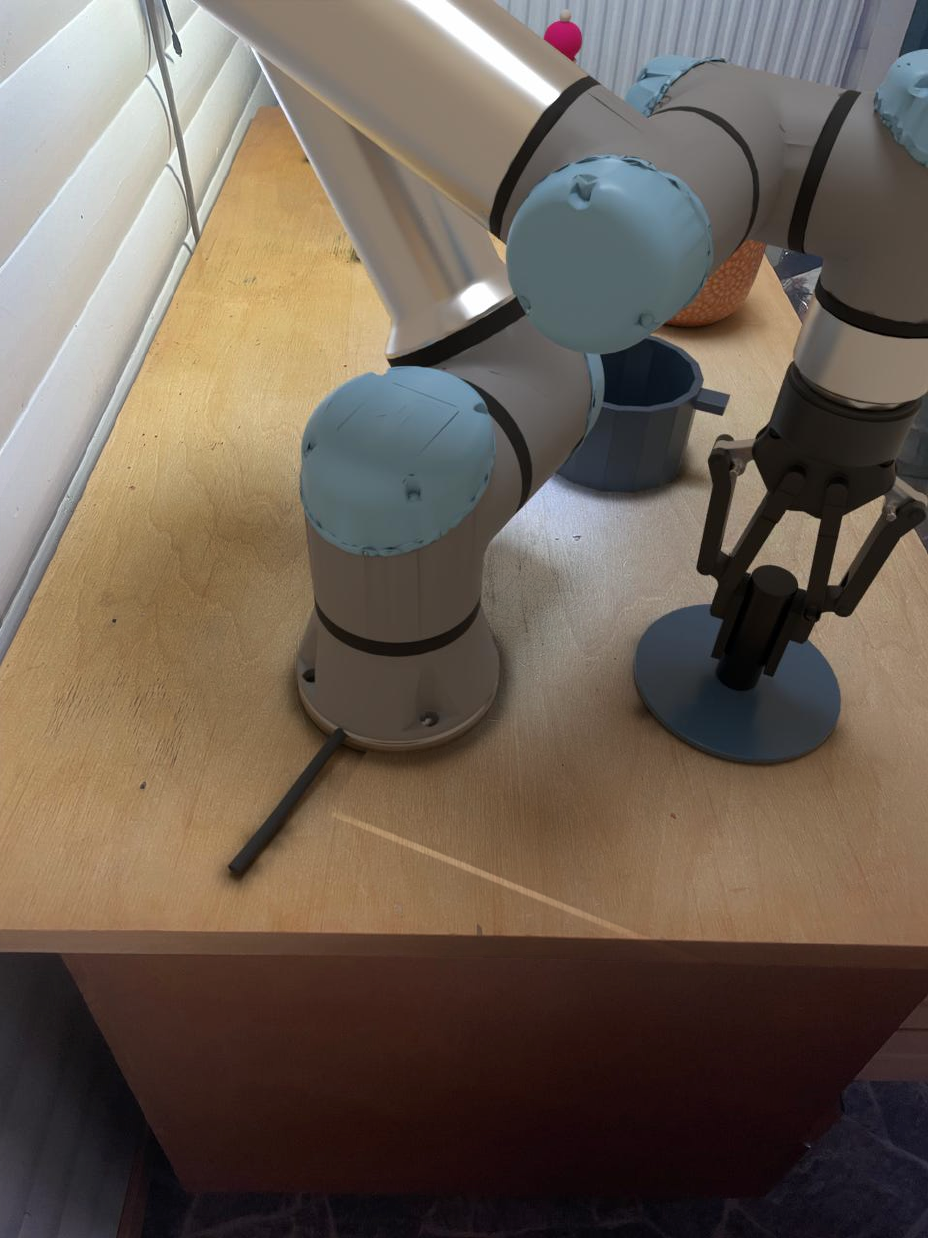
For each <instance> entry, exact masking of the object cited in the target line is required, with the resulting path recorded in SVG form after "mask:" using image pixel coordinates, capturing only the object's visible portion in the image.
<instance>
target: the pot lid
mask: <svg viewBox="0 0 928 1238" xmlns="http://www.w3.org/2000/svg"><path fill="white" fill-rule="evenodd" d="M798 588H799V581H798V579H797V577H796V576H795V575H794V574H793V573H792V572H791V571H789V570H788V569H787V568H783V567H782V566H778V565H776V564H775V565H774V564H763V565H759V566H757V567H756V568H754V569H753V570H752V572H751V576H750V579H749V582H748V585H747V589H746V593H745V596H744V599H743V602H742V604H741V607H740V610H739V612H738V615H737V618H736V620H735V623H734V626H733V628H732V631H731V634H730V636H729V639H728V641H727V644H726V647H725V649H724V652H723V655H722V657H721V660H718V659H715V658H712V657H711V654H712V651H713V647H714V644H715V641H716V638H717V635H718V632H719V629H720V626H721V624H722V621H723V620H722V619H719V618H716V617H713V616H711V615H710V607H711V604H712V603H703V604H693V605H689V606H684V607H681V608H678V609H675V610H672V611H669V612H668V613H665V614H663V615H662V616H661V617H659V618H658V619H656V620H655V621H654V622H652V624H650V625H649V627H647V629H646V630H645V632H644V633H643V634H642V635H641V637H640V640H639V641H638V642H637V647H636V649H635V653H634V657H633V676H634V680H635V681H634V682H635V684H636V687H637V690H638V693H639V695H640V697H641V700H642V701H643V702H644V704H645V706H646V707H647V709H648V710H649V711H650V713H651V714H652V716H653V717H654V718H656V720H658V722H660V724H661V725H662V726H663V727H665V728H666V729H667V730H668V731H669V732H670V733H671V734H672V735H674V736H676V737H677V738H679V739H680V740H681V741H683V742H684V743H686V744H688V745H690V746H692V747H694V748H696V749H698V750H700V751H702V752H704V753H707V754H709V755H712V756H715V757H718V758H721V759H724V760H728V761H733V762H739V763H744V764H757V765H758V764H759V765H760V764H761V765H763V764H775V763H776V764H777V763H784V762H788V761H791V760H796V759H798V758H801V757H802V756H806V755H807V754H809V753H811V752H812V751H813V750H814V751H815V749H817V748H818V747H819V746H820V745H822V744H823V743H824V742H825V741H826V740H827V739H828V737H829V736H830V735H831V733H833V730H834V728H835V726H836V725H837V722H838V720H839V718H840V717H839V716H840V712H841V708H842V707H841V706H842V697H841V689H840V685H839V682H838V679H837V678H838V677H837V676H836V674H835V672H834V669H833V668H832V665H831V664H830V663H829V662H828V660H827V658H826V657H825V656H824V654H823V653H822V652H821V650H820V649H818V648H817V646H815V644H813V643H812V641H810V640H809V639H808V640H807V641H806V642H804V643H803V644H800V643H796V642H793V641H790V640H789V643H788V645H787V647H786V649H785V652H784V654H783V656H782V658H781V661H780V663H779V665H778V667H777V670H776V672H775V674H774V676H773V677H770V676H767V675H764V674H763V671H764V667H765V664H766V662H767V659H768V657H769V655H770V652H771V650H772V648H773V645H774V643H775V641H776V638H777V636H778V634H779V631H780V629H781V627H782V624H783V622H784V620H785V617H786V615H787V613H788V610H789V608H790V606H791V603H792V601H793V599H794V597H795V594H796V592H797V590H798Z"/></svg>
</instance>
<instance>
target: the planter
mask: <svg viewBox="0 0 928 1238" xmlns="http://www.w3.org/2000/svg"><path fill="white" fill-rule="evenodd" d="M767 246H768V244H765V243H761V242H757V241H754V240H750V239H748V240H747V241H746V242H745V243H744V244H743V245H742V246H741V247H740V248H739V249H738V250H737V251H736V252H735V253H734V254H733V255H732V256H731V257H730V258H729V259H728V260H727V261H725V262H724V264H723V265H722V266H721V267H720V268H719V269H718V270H717V271H716V272H715V273H714V274H713V275H712V276H711V277H710V278H709V279H708V280H707V281H706V282H705V285H704V287H703V289H702V290H701V292H700V293H699V294H698V296H697V297H696V298H695V300H694V301H693V302H692V303H691V304H690V305H689V306H688V307H686V308H683V309H682V310H681V311H680V312H679V313H678V314H677V315H675V316H674V317H673V318H672V319H671V320H669V321H667V322H665V323H664V325H665V324H666V325H670V326H675V327H685V328H693V327H694V328H695V327H702V326H707V325H710V324H714V323H716V322H719V321H721V320H723V319H725V318H727V317H728V316H730V315H732V314H733V313H735V312H736V311H737V310H738V309H739V308H740V307H741V306H742V305H743V303H744V302H745V301H746V299H747V298H748V296H749V294H750V292H751V290H752V287H753V285H754V283H755V281H756V279H757V276H758V273H759V271H760V268H761V264H762V261H763V258H764V255H765V253H766V249H767Z"/></svg>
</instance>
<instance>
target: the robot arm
mask: <svg viewBox="0 0 928 1238" xmlns="http://www.w3.org/2000/svg"><path fill="white" fill-rule="evenodd" d="M190 1H191V2H192V3H194V4H195V5H196V6H198V7H199V8H200V9H201V10H202V11H204V12H205V13H207V14H208V15H209V16H211V18H213V19H214V20H215V21H216V22H218V23H220V25H222V26H224V27H225V28H226V29H227V30H229V32H231V33H232V34H233V35H235V36H236V37H237V38H239V39H240V40H241V41H243V42H244V43H245V44H246V45H248V46H249V47H250V49H251V51H252V53H253V54H254V55H253V56H254V57H255V59H256V61H257V63H258V65H259V67H260V68H261V71H262V72H263V74H264V77H265V78H266V80H267V82H268V84H269V86H270V88H271V90H272V92H273V93H274V96H275V97H276V100H277V102H278V103H279V105H280V107H281V109H282V111H283V113H284V115H285V117H286V119H287V121H288V123H289V124H290V127H291V129H292V130H293V133H294V135H295V136H296V138H297V140H298V143H299V144H300V146H301V148H302V151H303V152H304V155H305V156H306V159H307V158H308V159H307V160H308V162H309V164H310V166H311V168H312V169H313V172H314V174H315V175H316V177H317V179H318V181H319V183H320V185H321V187H322V189H323V191H324V193H325V194H326V197H327V199H328V201H329V203H330V204H331V207H332V208H333V210H334V212H335V214H336V216H337V218H338V220H339V222H340V224H341V226H342V228H343V230H344V232H345V234H346V236H347V238H348V240H349V241H350V244H351V246H352V247H353V249H354V251H355V253H356V256H357V255H358V257H359V258H358V257H357V258H358V259H359V261H360V263H361V265H362V267H363V269H364V271H365V272H366V275H367V276H368V278H369V281H370V282H371V285H372V286H373V288H374V290H375V292H376V294H377V296H378V298H379V300H380V302H381V304H382V306H383V308H384V310H385V312H386V314H387V315H388V317H389V319H390V321H389V323H390V327H389V330H388V335H387V338H386V342H385V345H384V350H383V355H384V356H385V359H386V360H387V362H388V365H389V366H390V367H388V368H387V369H386V371H385V373H384V374H376V373H375V372H373V371H370V372H365V373H363V374H360V375H357V376H355V377H353V378H351V379H349V380H347V381H345V382H343V383H342V384H340V385H338V386H337V387H336V388H334V389H333V390H332V391H330V392H329V393H328V394H327V395H326V396H325V397H324V398H323V399H322V400H321V401H320V402H319V403H318V405H317V406H316V407H315V408H314V410H313V411H312V413H311V415H310V417H309V418H308V420H307V422H306V425H305V427H304V431H303V434H302V438H301V444H300V449H301V450H300V458H301V459H300V461H301V462H300V464H301V465H300V472H299V481H298V482H299V495H300V502H301V505H302V507H303V515H304V522H305V523H304V524H305V531H306V541H307V548H308V557H309V566H310V574H311V583H312V590H313V591H312V592H313V600H314V605H313V607H312V611H311V614H310V617H309V619H308V622H307V625H306V629H305V631H304V633H303V636H302V639H301V641H300V645H299V648H298V652H297V656H296V663H295V665H296V678H297V679H296V680H297V686H298V692H299V697H300V700H301V703H302V706H303V707H304V710H305V712H306V713H307V715H308V716H309V717H310V719H311V720H312V722H313V723H314V724H315V725H316V726H317V727H318V728H319V729H320V730H321V731H323V733H325V734H326V735H327V736H329V737H328V738H327V740H326V741H325V743H324V744H323V745H322V746H321V747H320V749H319V750H318V751H317V753H316V754H315V755H314V756H313V758H312V759H311V761H310V762H309V763H308V764H307V766H306V767H305V768H304V770H303V771H302V773H300V775H298V777H297V778H296V780H295V782H294V783H293V784H292V786H291V787H290V788H289V790H288V791H287V792H286V794H285V795H284V796H283V797H282V799H281V800H280V802H279V803H278V804H277V805H276V807H275V808H274V809H273V811H272V812H271V813H270V814H269V816H268V817H267V819H266V820H265V821H264V822H263V823H262V825H261V826H260V827H259V828H258V829H257V831H256V832H255V833H254V834H253V835H252V836H251V838H250V839H249V840H248V841H247V842H246V843H245V845H244V846H243V847H242V848H241V849H240V851H239V852H238V853H237V854H236V855H235V857H234V858H233V859H232V860H231V861H230V862H229V864H228V865H227V868H228V869H229V871H230V872H231V873H232V874H233V875H237V876H240V875H241V873H242V872H243V871H244V870H245V869H246V868H247V866H248V865H249V864H250V863H251V861H252V860H253V859H254V858H255V857H256V855H257V854H258V853H259V852H260V851H261V849H262V848H264V846H265V845H266V843H267V842H268V841H269V840H270V838H271V837H272V836H273V834H275V832H276V831H277V830H278V829H279V828H280V826H281V825H282V824H283V822H284V821H285V819H286V818H288V817H287V816H288V815H289V814H290V813H291V812H292V810H293V809H294V807H295V806H296V805H297V803H298V802H299V801H300V799H301V798H302V796H303V795H304V794H305V792H306V791H307V790H308V788H309V787H310V786H311V784H312V783H313V782H314V780H315V779H316V777H317V776H318V775H319V774H320V772H321V771H322V770H323V769H324V767H326V765H327V763H328V762H329V760H330V759H331V758H332V757H333V756H334V755H335V753H336V752H337V750H338V748H340V746H341V745H344V746H347V747H349V748H351V749H355V750H357V751H359V752H364V753H367V752H368V751H370V752H375V753H380V754H381V753H382V754H411V753H413V754H414V753H418V752H424V751H428V750H432V749H435V748H438V747H442V746H444V745H446V744H449V743H450V742H453V741H455V740H457V739H458V738H461V737H463V735H465V734H466V733H468V732H470V730H472V729H473V728H474V727H475V726H476V725H477V724H478V723H479V722H480V721H481V720H482V719H483V718H484V717H485V715H486V714H487V713H488V711H489V710H490V708H491V706H492V704H493V703H494V700H495V698H496V694H497V691H498V686H499V678H500V655H499V650H498V647H497V644H499V643H498V640H497V639H496V636H495V634H494V633H493V631H492V629H491V628H490V625H489V621H488V620H487V617H486V613H485V611H484V609H483V606H482V603H481V599H482V598H481V597H482V587H483V578H484V577H483V576H484V566H485V565H484V563H485V555H486V552H487V550H488V548H489V546H490V544H491V542H492V541H493V539H495V537H496V536H497V535H498V534H499V533H500V531H501V530H503V528H504V527H505V526H507V524H508V523H509V522H510V521H511V520H512V519H513V517H514V516H516V514H517V513H518V512H520V510H522V509H523V507H524V506H525V505H526V504H527V503H528V502H530V500H531V499H532V498H533V497H534V496H535V495H536V494H537V493H538V491H539V490H540V489H541V488H542V487H544V486H545V484H546V483H547V482H548V481H549V480H550V479H551V478H552V477H553V476H554V475H555V474H556V471H557V470H558V469H559V468H560V467H561V466H563V465H564V464H566V463H567V462H568V461H569V460H570V459H571V458H572V457H573V456H574V455H575V454H576V452H577V451H578V450H579V448H580V447H581V445H582V443H583V442H584V439H585V437H586V436H587V435H588V433H589V432H590V431H591V429H592V428H593V426H594V424H595V422H596V420H597V418H598V416H599V413H600V410H601V407H602V403H603V397H604V371H603V366H602V361H601V357H600V354H608V353H614V352H618V351H621V350H624V349H627V348H629V347H631V346H633V345H635V344H637V343H639V342H640V341H642V340H643V339H645V338H646V337H648V336H649V335H652V334H653V333H655V331H657V330H658V329H659V328H660V327H662V326H663V325H665V322H667V321H669V320H671V319H672V318H673V317H674V316H675V315H677V314H678V313H679V312H680V311H681V310H682V309H683V308H686V307H688V306H689V305H690V304H691V303H692V302H693V301H694V300H695V298H696V297H697V296H698V294H699V293H700V292H701V290H702V289H703V287H704V285H705V282H706V281H707V280H708V279H709V278H710V277H711V276H712V275H713V274H714V273H715V272H716V271H717V270H718V269H719V268H720V267H721V266H722V265H723V264H724V262H725V261H727V260H728V259H729V258H730V257H731V256H732V255H733V254H734V253H735V252H736V251H737V250H738V249H739V248H740V247H741V246H742V245H743V244H744V243H745V242H746V241H747V240H748V239H750V240H754V241H757V242H761V243H765V244H767V245H768V246H769V245H770V246H773V247H777V248H781V249H784V250H788V251H791V252H795V253H800V254H803V255H805V254H808V255H812V256H815V257H819V258H821V259H823V260H822V264H821V269H820V273H819V275H818V277H817V280H816V283H815V286H814V289H813V291H812V294H811V297H810V300H809V303H808V305H807V309H806V312H805V314H804V317H803V321H802V322H801V327H800V329H799V332H798V335H797V338H796V341H795V344H794V347H793V350H792V359H793V360H792V361H791V362H790V363H789V364H788V366H787V368H786V371H785V374H784V377H783V380H782V383H781V385H780V389H779V392H778V395H777V398H776V401H775V404H774V407H773V409H772V412H771V414H770V419H769V421H768V422H767V423H766V425H765V426H764V427H762V428H761V429H760V430H759V431H757V434H756V435H755V438H748V439H739V440H735V439H734V437H733V436H732V435H731V434H729V433H723V434H719V435H718V436H717V437H716V438H715V441H714V444H713V446H712V449H711V451H710V453H709V456H708V458H707V466H708V471H709V474H710V480H711V483H712V487H711V492H710V498H709V501H708V507H707V511H706V516H705V521H704V527H703V532H702V535H701V542H700V547H699V551H698V557H697V561H696V565H695V566H696V567H695V569H696V571H697V573H698V574H699V575H702V576H703V577H708V576H711V577H712V578H713V579H715V581H716V582H717V587H716V589H715V593H714V596H713V598H712V602H711V603H710V604H711V607H710V615H711V616H713V617H716V618H719V619H722V620H723V621H722V624H721V626H720V629H719V632H718V635H717V638H716V641H715V644H714V647H713V651H712V654H711V657H712V658H715V659H718V660H721V657H722V655H723V652H724V649H725V647H726V644H727V641H728V639H729V636H730V634H731V631H732V628H733V626H734V623H735V620H736V618H737V615H738V612H739V610H740V607H741V604H742V602H743V599H744V596H745V593H746V589H747V585H748V582H749V579H750V577H751V574H752V572H751V573H750V572H747V571H748V569H749V568H750V566H751V565H752V563H753V562H754V560H755V558H756V557H757V556H758V554H759V553H760V551H761V549H762V547H763V546H764V544H765V543H766V541H767V539H768V538H769V536H770V535H771V533H772V531H773V530H774V529H775V527H776V526H777V525H778V524H779V523H780V521H781V520H782V519H783V517H784V515H785V514H786V512H787V511H789V512H802V513H805V514H807V515H809V516H811V517H813V518H815V519H818V520H820V521H819V526H818V532H817V538H816V542H815V547H814V552H813V557H812V562H811V568H810V571H809V572H810V573H809V577H808V582H807V587H806V589H803V588H800V587H798V590H797V592H796V594H795V597H794V599H793V601H792V603H791V606H790V608H789V610H788V613H787V615H786V617H785V620H784V622H783V624H782V627H781V629H780V631H779V634H778V636H777V638H776V641H775V643H774V645H773V648H772V650H771V652H770V655H769V657H768V659H767V662H766V664H765V667H764V671H763V674H764V675H767V676H770V677H773V676H774V674H775V672H776V670H777V667H778V665H779V663H780V661H781V658H782V656H783V654H784V652H785V649H786V647H787V645H788V643H789V640H790V641H793V642H796V643H800V644H803V643H804V642H806V641H807V640H809V638H810V635H811V634H812V631H813V628H814V626H815V624H816V623H818V622H819V621H820V620H821V617H822V614H824V613H834V614H835V615H836V616H837V617H839V618H848V617H850V616H851V615H852V614H853V613H854V611H855V610H856V608H857V607H858V605H859V604H860V602H861V601H862V599H863V598H864V596H865V594H866V592H868V590H869V588H870V587H871V585H872V583H873V582H874V580H875V579H876V577H877V575H878V574H879V572H880V571H881V569H882V568H883V566H884V564H885V563H886V561H887V560H888V559H889V557H890V556H891V553H892V552H893V551H894V550H895V547H896V546H897V544H898V543H899V541H900V540H901V538H902V537H904V536H906V535H907V534H908V533H909V532H911V531H913V530H914V529H915V528H916V527H918V526H919V525H920V524H922V523H923V522H924V521H925V520H926V519H927V514H928V513H927V512H928V488H927V487H926V486H924V485H919V484H917V485H913V486H911V485H909V484H908V483H906V482H905V481H904V480H902V479H901V478H900V477H898V476H897V473H898V463H897V458H898V456H899V453H901V450H902V448H903V446H904V443H905V441H906V439H907V437H908V435H909V433H910V430H911V429H912V427H913V424H914V422H915V420H916V419H917V416H918V414H919V412H920V409H921V407H922V404H923V396H924V395H926V394H927V393H928V48H925V49H924V48H923V49H918V50H913V51H911V52H907V53H905V54H902V55H901V56H900V57H898V58H897V59H896V60H895V61H894V62H893V63H892V64H891V66H890V67H889V70H888V71H887V74H886V76H885V78H884V81H883V82H882V83H881V84H880V85H879V86H878V87H877V89H876V91H872V90H863V91H858V90H853V89H848V88H842V87H839V86H838V87H837V86H834V85H829V84H823V83H821V82H816V81H812V80H811V81H810V80H807V79H802V78H797V77H792V76H789V75H783V74H778V73H774V72H769V71H764V70H760V69H756V68H751V67H748V66H747V67H746V66H741V65H737V64H734V63H733V62H731V61H726V59H725V58H722V57H716V56H709V57H705V58H700V57H692V56H684V55H677V54H662V55H658V56H656V57H653V58H652V59H651V60H649V61H648V62H647V63H645V65H643V66H642V67H641V69H640V70H639V72H638V73H637V75H636V78H635V81H634V83H633V84H631V85H630V86H629V87H628V88H627V91H626V92H625V94H624V97H623V99H622V98H621V97H619V96H618V95H617V94H615V93H614V92H612V91H611V90H610V89H609V88H608V87H606V86H604V85H603V84H602V83H601V82H600V81H598V80H596V78H594V77H593V76H591V74H590V73H589V72H587V71H586V70H584V69H583V68H582V67H580V66H579V65H578V64H577V63H576V64H575V63H574V62H573V61H571V60H570V59H569V58H567V57H566V56H565V55H563V54H562V53H561V52H560V51H558V50H557V49H556V48H554V47H553V46H552V45H550V44H549V43H548V42H547V41H545V40H544V37H541V36H540V35H539V34H538V33H536V32H535V31H534V30H532V29H531V28H530V27H528V25H526V24H525V23H523V22H522V21H521V20H519V19H518V18H516V17H515V16H514V15H513V14H512V13H510V12H509V11H507V10H506V9H505V8H504V7H503V6H501V5H500V4H498V3H497V2H496V1H494V0H190ZM489 233H490V234H491V235H492V236H494V237H495V238H496V239H498V240H499V241H500V242H502V243H503V244H504V245H505V262H504V261H503V260H502V259H501V258H500V256H499V254H498V252H497V249H496V247H495V245H494V243H493V240H492V238H491V236H490V234H489ZM751 461H754V463H755V466H756V468H757V470H758V473H759V475H760V478H761V480H762V482H763V484H764V486H765V490H766V493H765V495H764V497H763V498H762V499H761V502H760V503H759V505H758V506H757V508H756V510H755V512H754V514H752V516H751V518H750V520H749V522H748V523H747V525H746V527H745V528H744V530H743V531H742V533H741V535H740V537H739V538H738V540H737V542H736V543H735V545H734V547H733V548H732V550H731V552H729V553H726V552H724V551H722V547H723V543H724V538H725V533H726V529H727V524H728V521H729V515H730V512H731V508H732V503H733V498H734V495H735V488H736V484H737V480H738V477H740V476H742V475H743V474H744V473H745V472H746V468H747V467H748V463H749V462H751ZM882 496H883V497H884V498H883V500H882V505H881V513H880V516H879V517H878V519H877V520H876V522H875V523H874V526H873V527H872V529H871V530H870V532H869V534H868V535H867V537H866V538H865V540H864V542H863V543H862V545H861V547H860V549H859V550H858V552H857V554H856V555H855V557H854V558H853V561H851V564H850V565H849V566H848V569H847V570H846V572H845V574H844V575H843V576H842V578H841V580H840V582H839V583H838V584H829V581H830V576H831V571H832V567H833V564H834V563H833V562H834V558H835V553H836V548H837V544H838V539H839V535H840V530H841V526H842V522H843V517H844V516H847V515H848V514H850V513H852V512H854V511H856V510H858V509H859V508H861V507H863V506H865V505H867V504H869V503H870V502H873V501H875V500H876V499H878V498H881V497H882ZM496 642H497V644H496Z"/></svg>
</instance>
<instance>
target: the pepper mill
mask: <svg viewBox="0 0 928 1238" xmlns="http://www.w3.org/2000/svg"><path fill="white" fill-rule="evenodd" d="M571 18H572V13H571V11H570V10H569V9H567V8H565V9H562V10H561V11H560V13H559V20H556V21H554V22H553V23H551V24H549V25H548V27H547V28H546V30H545V32H544V36H543V39H544V40H545V41H547V42H548V43H549V44H550V45H552V46H553V47H554V48H556V49H557V50H558V51H560V52H561V53H562V54H563V55H565V56H566V57H567V58H569V59H570V60H571V61H573V62H574V63H575V64H577V62H578V61H577V58H576V56H577V55H578V53H579V52H580V50H581V48H582V45H583V35H582V31H581V29H580V27H579V26H578V25H577V24H576V23H574V22H572V21H571Z"/></svg>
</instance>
